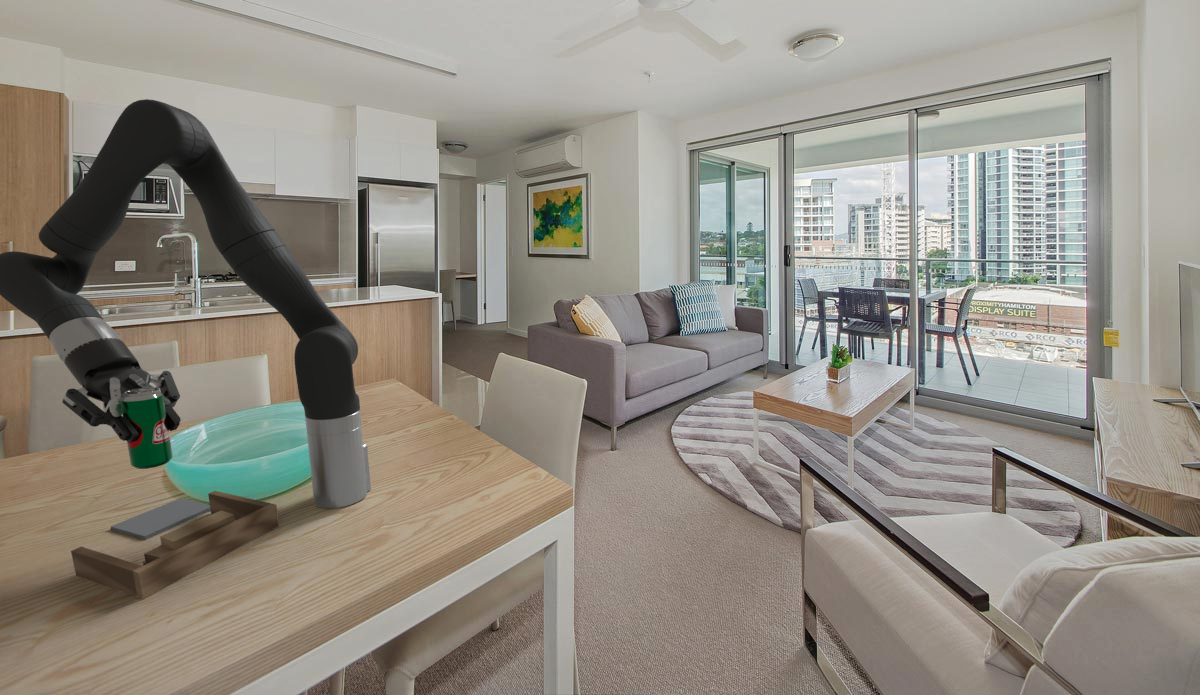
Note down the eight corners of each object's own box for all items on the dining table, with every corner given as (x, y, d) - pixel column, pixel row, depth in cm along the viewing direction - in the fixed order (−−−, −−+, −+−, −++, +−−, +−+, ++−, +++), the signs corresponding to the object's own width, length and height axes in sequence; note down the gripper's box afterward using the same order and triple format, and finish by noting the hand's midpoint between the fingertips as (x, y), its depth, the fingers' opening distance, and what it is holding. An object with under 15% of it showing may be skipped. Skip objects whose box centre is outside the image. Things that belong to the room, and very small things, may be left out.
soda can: (165, 467, 81) (154, 393, 78) (125, 472, 79) (111, 396, 77) (178, 455, 85) (167, 385, 83) (139, 459, 83) (127, 388, 81)
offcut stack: (223, 529, 88) (220, 507, 87) (243, 534, 87) (239, 511, 86) (142, 569, 77) (137, 544, 76) (162, 576, 76) (158, 550, 75)
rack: (217, 511, 95) (215, 490, 94) (278, 525, 90) (276, 504, 89) (75, 575, 76) (70, 550, 75) (143, 599, 71) (138, 572, 70)
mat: (181, 500, 98) (180, 498, 98) (213, 508, 95) (213, 505, 95) (111, 529, 88) (110, 526, 88) (145, 539, 85) (144, 536, 85)
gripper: (40, 344, 74) (107, 434, 72) (154, 330, 87) (212, 406, 86) (26, 377, 77) (90, 464, 75) (138, 358, 90) (195, 432, 88)
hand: (155, 432), depth 80 cm, fingers closed on soda can, 5 cm apart
